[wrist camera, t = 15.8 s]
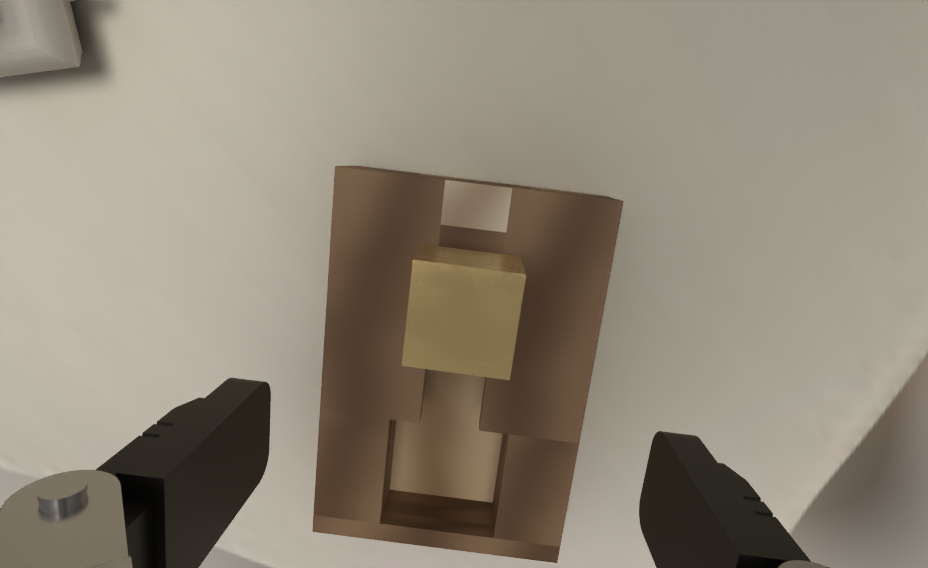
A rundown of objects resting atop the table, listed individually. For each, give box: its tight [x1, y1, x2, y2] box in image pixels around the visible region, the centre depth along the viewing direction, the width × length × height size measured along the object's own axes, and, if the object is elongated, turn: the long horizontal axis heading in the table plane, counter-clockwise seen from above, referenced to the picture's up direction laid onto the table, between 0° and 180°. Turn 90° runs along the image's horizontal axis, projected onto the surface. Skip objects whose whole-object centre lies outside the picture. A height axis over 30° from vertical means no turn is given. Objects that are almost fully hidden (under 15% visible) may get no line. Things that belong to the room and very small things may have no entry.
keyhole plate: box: [313, 166, 623, 563], centre depth 28 cm, size 13×19×4 cm
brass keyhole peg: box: [402, 244, 526, 380], centre depth 24 cm, size 4×4×9 cm
